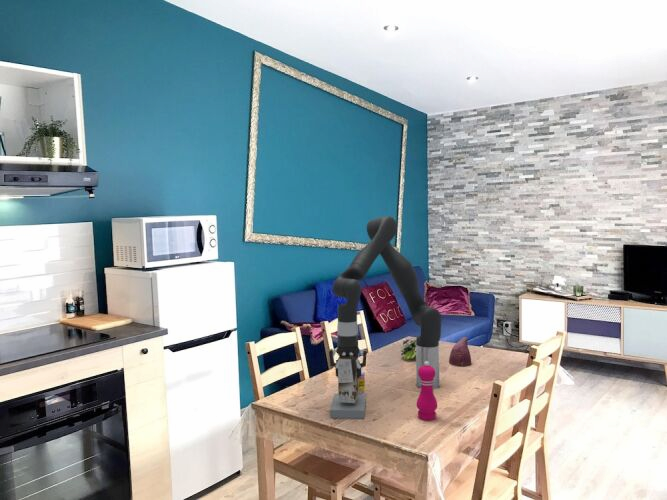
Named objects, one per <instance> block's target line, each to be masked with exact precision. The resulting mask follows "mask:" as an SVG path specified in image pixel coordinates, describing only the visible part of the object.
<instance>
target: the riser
mask: <svg viewBox="0 0 667 500" xmlns="http://www.w3.org/2000/svg"><path fill="white" fill-rule="evenodd" d="M332 398H333V399H332V402H331V404H330V405H331V406H330V409H329V413H330V414H329V417H330V418H329V419H350V420H351V419H353V420H359V419H360V420H364V419H365V414H366V406H367V405H366V404H367V396H366V393H365V394H359V395H358V397H357V400H356V402H355V403H346V402H338V393H334V395H333V397H332Z"/></svg>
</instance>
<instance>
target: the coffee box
mask: <svg viewBox="0 0 667 500" xmlns="http://www.w3.org/2000/svg"><path fill="white" fill-rule="evenodd" d="M357 358H358V359H359V354H358V355H357V357H356V356H355V357H351V356H345V357H340V356H339V355H338V358H337V361H338V377H337V384H338V387H337V388H338V390H337V392H338V393H337V394H338V402H346V403H355V402H356V400H357V397H358V395H359V378H357V363H356V359H357Z"/></svg>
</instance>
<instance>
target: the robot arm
mask: <svg viewBox="0 0 667 500" xmlns="http://www.w3.org/2000/svg"><path fill="white" fill-rule="evenodd" d="M397 232H398V223H397V221H396V219H395V218H394V217H392V216H390V215H386V216H381V217H377V218H374V219H371V220H369V221H368V222H367V223H366V233H367V235H368V237H369V239H370V241H369V242H368V243H367V244H366V245H365V246H364V247H363V248H362V249H360V250H359V251H358V253H357V254H356V255H355V256H354V258H353V260H352V261H351V263H350V264H349V265H348V267H347V268H346V269H344V271H342V273H340V275H338V276H337V277H336V278H335V280H334V281H333V285H332V294H333V295H334V296H336V297H337V298H342V299H347V300H346V303H341V304H339V305H338V307H337V329H336V333H337V335H336V336H337V348H336V349H333V348H330V349H329V351H328V354H329V365H330V367H331V368H332V367H333V368H335V377H337V378H338V360H337V361H336V362H335V358H334V357H335V355H336V354H337V355H338V357H339V356H340V357H345V356H351V357H355V356H356V357H357V355H358V356H359V354H360V356H362V363H360V362H361V361H360V360H359V357H358V358H357V359H356V363H357V378H359V377H361V368H362V369H363V368H365V367H366V366H367V355H368V354H367V353H368V351H367V349H366V348H364V349H360V348H359V325H358V306H359V302H360V299H361V294H362V285H361V283H360V281H363V280H364V279H365V277H366V275H367V274H368V272H369V270H370V269H371V267H372V265H373V264H374V262H375V261H376V260H377V258H378V256H379V255H380V257H381V258H382V260H383V262H384V263H385V265H386V267H387V269H388V271H389V273H390V276H391V277H392V279H393V281H394V283H395V285H396V286H397V289H398V290H399V292H400V294H401V296H402V297H403V300H404V301H405V302H406V305H407V308H408V310H409V312H410V315H411V318H412V321H413V322H414V323H415V325H416V326H418V327H420V335H419V336H417V337H416V348H415V351H416V355H415V369H416V370H415V371H416V372H415V373H416V374H415V377H416V378H415V379H416V380H415V381H416V384H415V385H416V386H417V387H418V388H420V389H421V384H420V377H419V375H418V370H419V368H420V367H421V366H424V362H425V361H428V362H429V366H432V367H433V368H434V369H435V377H434V378H433V379H434V384H433V389H439V388H440V362H439V360H440V359H439V358H440V357H439V355H440V354H439V349H440V348H439V345H440V344H439V343H440V342H439V341H440V340H441V338H442V337H441V332H442V316H441V313H440V311H439V310H438V309H437V308H436V307H432V306H429V305H428V304H427V302H426V301H425V300H424V298H423V296H422V294H421V292H420V285H419V284H420V283H419V278H418V274H417V272H416V271H415V268H414V267H413V265H412V263H411V262H410V260H409V259H408V258H407V257H406V256H405V255H403V254H402V253H400V252H399V251H398V250H397V249H396V248H395V247H394V246H393V245H392V244H391V241H392V240H393V239H394V238H395V236H396V234H397Z"/></svg>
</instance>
